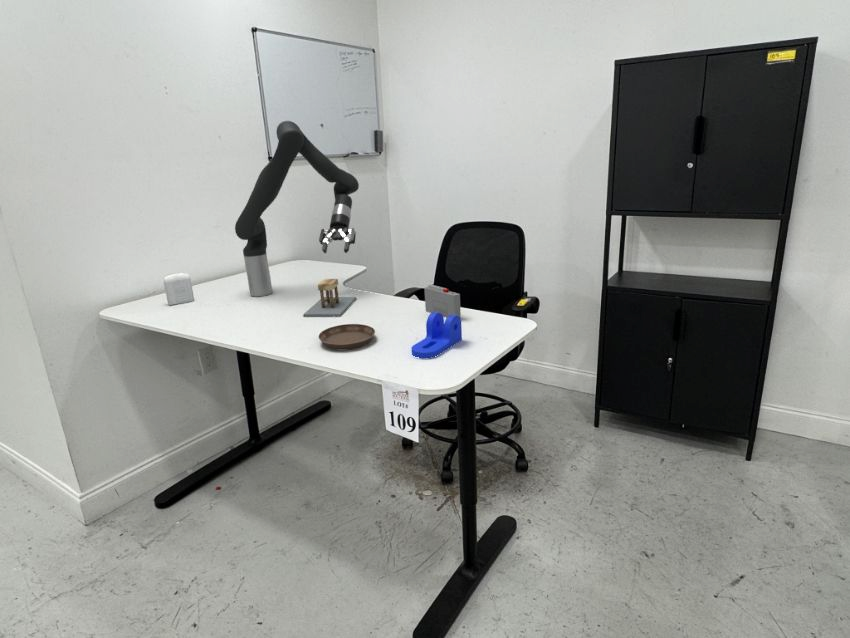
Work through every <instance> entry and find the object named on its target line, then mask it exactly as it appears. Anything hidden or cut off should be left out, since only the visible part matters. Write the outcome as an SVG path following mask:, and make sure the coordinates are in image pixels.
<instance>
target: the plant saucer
mask: <svg viewBox="0 0 850 638" xmlns="http://www.w3.org/2000/svg"><path fill="white" fill-rule="evenodd" d="M375 334H376V330H375V328H374V327H372V326H370V325H367V324H360V323H348V324H339V325H335V326H331V327H328V328H326V329H324V330H322V331H321V332H320V333H319V334H318V339H319V340H320V342H321V343H322V344H323V345H324V346H326V347H327V348H329V349H331V348H332V350H337V349H348V350H354V349H358V348H361V347H363V345H364V346H366V345H367V344H369V343H370V341H371V340H372V339H373V338H374V336H375ZM365 344H366V345H365ZM357 347H358V348H357ZM353 348H354V349H353Z"/></svg>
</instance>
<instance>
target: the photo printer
mask: <svg viewBox="0 0 850 638" xmlns="http://www.w3.org/2000/svg"><path fill="white" fill-rule="evenodd" d="M163 286H164V290H165V294H166V301H167V305H168V306H174V304H175V305H178V304H185V302H186V303H190V302H191V301H192V302H195V297H194V290H193V285H192V281H191V277H190V274H188V273H180V272H179V273H174V274H173V273H172V274H170V275H167V276H165V277H163Z"/></svg>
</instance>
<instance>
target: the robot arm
mask: <svg viewBox="0 0 850 638" xmlns="http://www.w3.org/2000/svg"><path fill="white" fill-rule="evenodd" d="M276 137H277V140H278V142H277V146H276V150H275V152H274V154H273V156H272V158H271V159H270V161H269V162H268V163H267V164H266V165H265V166H264V168H263V169H262V170H261V171H260V173H259V175H258V177H257V179H256V182H255V183H254V186H253V189H252V191H251V194H250V196H249V198H248V200H247V202H246V204H245V206H244V208H243V210H242V211H241V213H240V215H239V216H238V218H237V220H236V222H235V225H234V230H235V231H234V232H235V234H236V236H237V237H238V239H240V240H242V241H247V242H246V245H245V246H244V247H243V249H242V253H243V259H244V265H245V270H246V277H247V281H248V282H247V283H248V284H247V285H248V289H249V295H250V296H251V297H264V296H269V295H271V294H273V286H272V280H271V278H272V277H271V273H270V267H269V262H268V256H267V247H268V243H267V242H268V240H267V231H266V230H267V229H266V225H265V222H264V220H263V218H261V216H262V215H263V214H264V213H265V211H266V210H267V209H268V208H269V207H270V205H272V204H273V203H274V201H275V200H276V198H277V197H278V195H279V193H280V191H281V189H282V186H283V184H284V182H285V180H286V178H287V176H288V173H289V171H290V168H291V166H292V164H293V162H294V161H295V159H296V158H297V156H298V154H300V155H301V156H302V158H304V159H305V160H306V161H307V163H308V164H309V165H311V167H312V168H313V169H314V170H315V172H317V173H318V174H319V176H321V177H322V178H323V179H325V181H327V182H328V183H331V184H333V183H334V185H333V195H334V204H333V209H332V212H331V218H330V224H329V229H327V230H326V229H325V228H321V229H320V230H321V231H320V234H319V238H318V241H319V243H320V245H321V246H322V247H321V250H322V252H323V253H324V254H327V251H328V245H329V244H331V243H332V242H333V241H342V240H343V241H344V247H343V252H344V253H345V254H346V253H348V252H349V251H350V246H351V244H353V245H355V244H356V234H357V232H356V229H355V228H354V227H351V229H349V228H350V221H351V216H352V215H351V214H352V213H351V212H352V206H353V199H352V197H351V196H350V195H352V194H354V193H356V192H357V191H358V190H359V187H360V186H359V185H360V184H359V181H358V180H357V178H356V177H355V176H354V175H352V173H349V172H347V171H346V170H343V169H341V168H339V167H338V166H337V165H336V164H335V163H334V162H332V160H330V159H329V158H328V157H327V156H326V155H325V154H324V153H323V152H321V151H320V150H319V148H318V147H316V146H315V145H314V143H312V142H311V140H309V138H308V137H307V136H306V135H305V133H303V131H302V130H301V128H300V127H299V125H298V124H296V123H295V122H293V121H291V120H284V121H282V122H280V123H278V125H277V127H276ZM348 235H350V239H349V238H348V237H347V236H348Z"/></svg>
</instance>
